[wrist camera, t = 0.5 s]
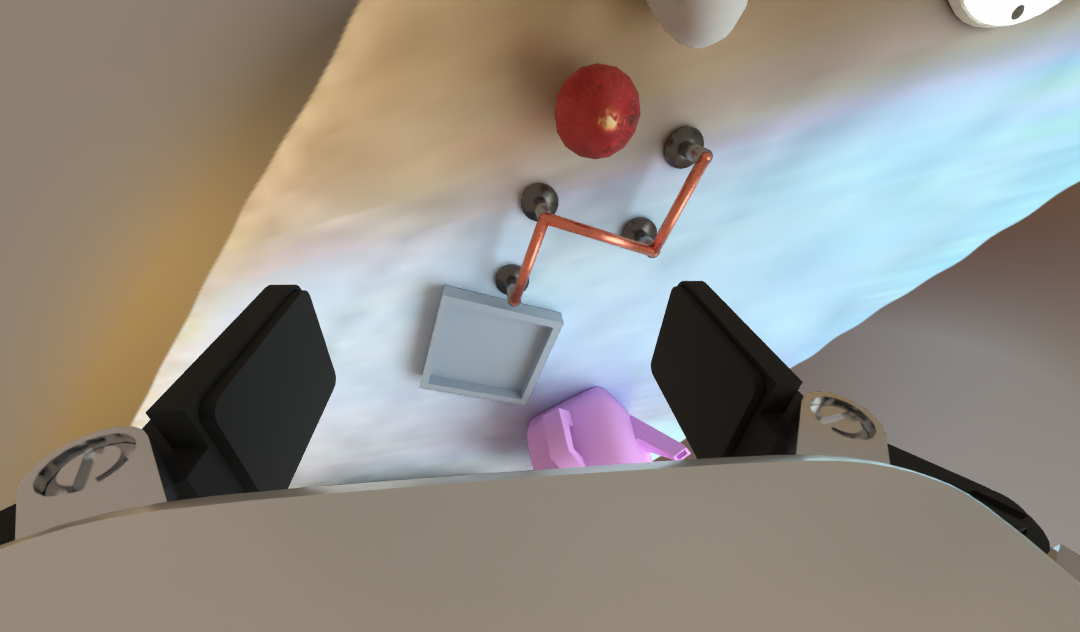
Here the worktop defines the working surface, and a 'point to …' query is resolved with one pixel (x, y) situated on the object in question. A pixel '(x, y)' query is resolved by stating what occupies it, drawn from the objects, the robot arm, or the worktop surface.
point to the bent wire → (636, 235)
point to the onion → (597, 111)
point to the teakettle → (595, 435)
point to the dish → (488, 346)
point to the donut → (697, 19)
